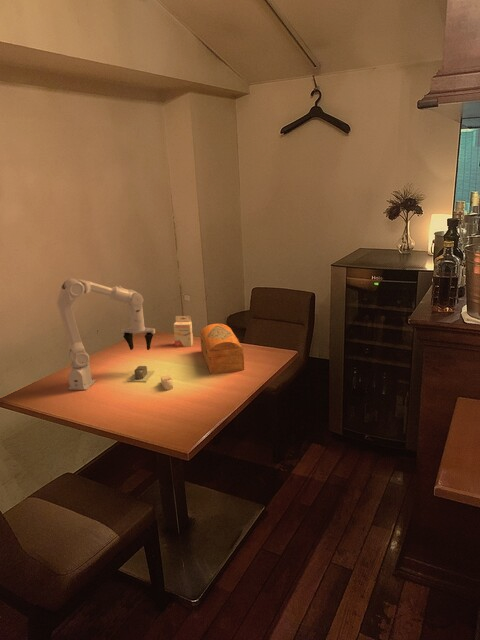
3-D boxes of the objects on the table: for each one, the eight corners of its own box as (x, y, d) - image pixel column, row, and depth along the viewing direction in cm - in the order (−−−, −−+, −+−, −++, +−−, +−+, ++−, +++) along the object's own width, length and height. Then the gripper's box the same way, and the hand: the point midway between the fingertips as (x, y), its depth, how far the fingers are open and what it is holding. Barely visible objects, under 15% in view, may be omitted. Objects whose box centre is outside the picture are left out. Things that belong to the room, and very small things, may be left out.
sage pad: (146, 382, 194) (146, 381, 194) (127, 381, 196) (127, 380, 196) (154, 371, 205) (154, 370, 205) (137, 371, 206) (137, 370, 206)
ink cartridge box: (174, 346, 236) (172, 318, 232) (177, 343, 241) (174, 315, 237) (191, 346, 235) (189, 318, 231) (193, 343, 240) (191, 315, 236)
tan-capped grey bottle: (142, 379, 196) (141, 372, 195) (134, 379, 196) (133, 372, 195) (149, 371, 205) (148, 363, 204) (141, 371, 205) (140, 363, 204)
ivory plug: (173, 389, 186) (173, 380, 185) (165, 390, 185) (164, 382, 184) (168, 380, 195) (167, 373, 194) (160, 382, 193) (159, 374, 192)
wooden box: (246, 370, 202) (245, 339, 198) (208, 374, 199) (206, 344, 195) (234, 348, 230) (233, 321, 227) (201, 351, 228) (199, 324, 224)
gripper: (156, 316, 203) (159, 346, 207) (124, 316, 206) (127, 346, 209) (150, 321, 197) (154, 351, 200) (118, 321, 199) (121, 351, 203)
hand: (140, 349), depth 204 cm, fingers open, 7 cm apart
